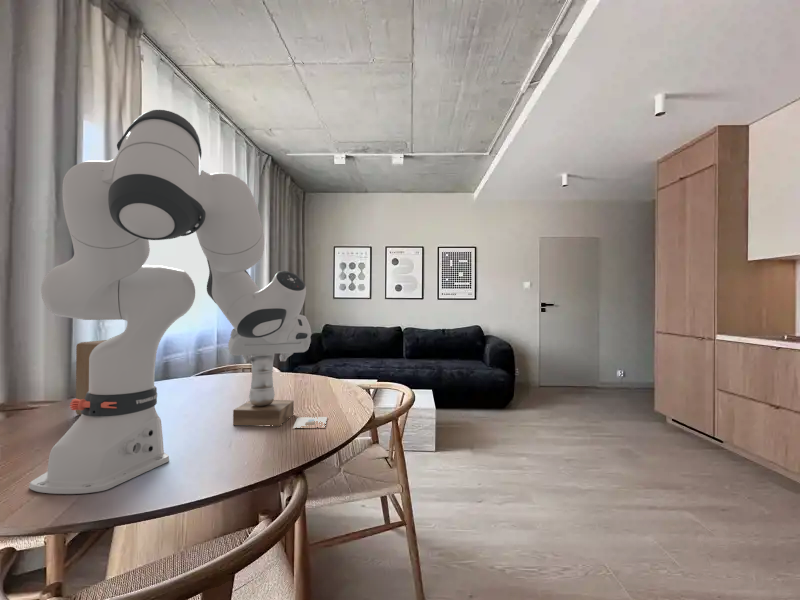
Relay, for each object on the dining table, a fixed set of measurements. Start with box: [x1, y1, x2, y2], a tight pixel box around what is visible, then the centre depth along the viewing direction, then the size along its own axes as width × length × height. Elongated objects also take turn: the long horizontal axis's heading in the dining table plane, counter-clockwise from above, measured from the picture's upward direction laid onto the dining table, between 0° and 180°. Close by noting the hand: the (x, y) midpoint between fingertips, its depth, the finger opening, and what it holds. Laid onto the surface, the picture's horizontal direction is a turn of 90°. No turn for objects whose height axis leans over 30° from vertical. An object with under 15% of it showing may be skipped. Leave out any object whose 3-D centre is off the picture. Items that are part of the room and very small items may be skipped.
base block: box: [232, 399, 295, 427], centre depth 119 cm, size 12×12×4 cm
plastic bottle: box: [248, 354, 275, 406], centre depth 119 cm, size 6×7×20 cm
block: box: [75, 339, 107, 416], centre depth 125 cm, size 10×10×20 cm
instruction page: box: [292, 416, 328, 429], centre depth 116 cm, size 10×8×1 cm
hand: (265, 360), depth 120 cm, fingers open, 8 cm apart
